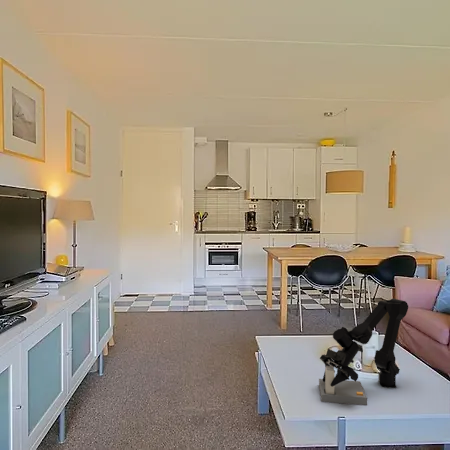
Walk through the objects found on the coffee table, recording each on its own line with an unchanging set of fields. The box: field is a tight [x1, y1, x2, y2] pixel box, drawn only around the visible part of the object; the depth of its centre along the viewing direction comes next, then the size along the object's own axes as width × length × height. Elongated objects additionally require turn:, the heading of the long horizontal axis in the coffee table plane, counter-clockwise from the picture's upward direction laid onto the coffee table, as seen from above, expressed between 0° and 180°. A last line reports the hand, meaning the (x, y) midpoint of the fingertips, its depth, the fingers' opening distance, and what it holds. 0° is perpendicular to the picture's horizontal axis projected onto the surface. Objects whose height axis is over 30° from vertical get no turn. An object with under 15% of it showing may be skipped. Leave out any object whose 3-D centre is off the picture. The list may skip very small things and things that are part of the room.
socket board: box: [318, 378, 368, 406], centre depth 171 cm, size 18×16×4 cm
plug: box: [324, 366, 335, 394], centre depth 167 cm, size 3×3×13 cm
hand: (327, 383), depth 166 cm, fingers closed on plug, 5 cm apart
